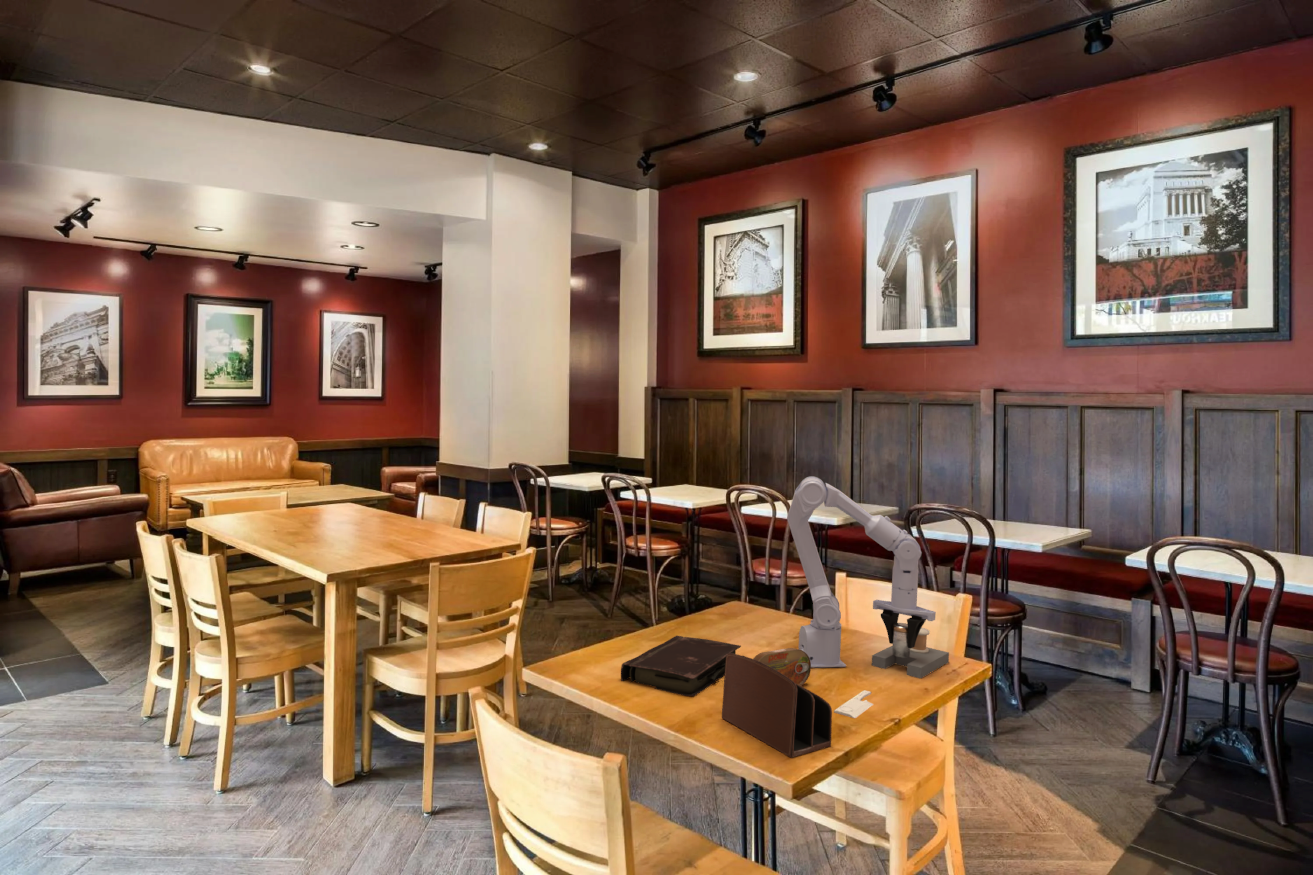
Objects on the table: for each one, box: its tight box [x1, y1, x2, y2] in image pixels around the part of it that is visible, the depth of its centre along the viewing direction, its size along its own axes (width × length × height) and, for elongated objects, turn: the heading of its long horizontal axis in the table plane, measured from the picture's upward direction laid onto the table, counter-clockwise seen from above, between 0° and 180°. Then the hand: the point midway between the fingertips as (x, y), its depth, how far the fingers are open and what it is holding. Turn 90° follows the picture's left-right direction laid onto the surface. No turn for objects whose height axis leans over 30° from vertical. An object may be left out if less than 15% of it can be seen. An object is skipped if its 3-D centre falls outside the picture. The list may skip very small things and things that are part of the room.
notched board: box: [871, 627, 950, 679], centre depth 193 cm, size 16×12×8 cm
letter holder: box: [721, 653, 833, 759], centre depth 152 cm, size 10×20×14 cm, turn 33°
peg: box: [891, 622, 910, 657], centre depth 189 cm, size 4×4×7 cm
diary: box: [620, 635, 742, 697], centre depth 183 cm, size 19×25×5 cm
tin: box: [752, 647, 812, 687], centre depth 175 cm, size 15×3×8 cm, turn 117°
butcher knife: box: [833, 689, 874, 719], centre depth 167 cm, size 5×15×1 cm, turn 143°
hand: (901, 644), depth 189 cm, fingers closed on peg, 4 cm apart
